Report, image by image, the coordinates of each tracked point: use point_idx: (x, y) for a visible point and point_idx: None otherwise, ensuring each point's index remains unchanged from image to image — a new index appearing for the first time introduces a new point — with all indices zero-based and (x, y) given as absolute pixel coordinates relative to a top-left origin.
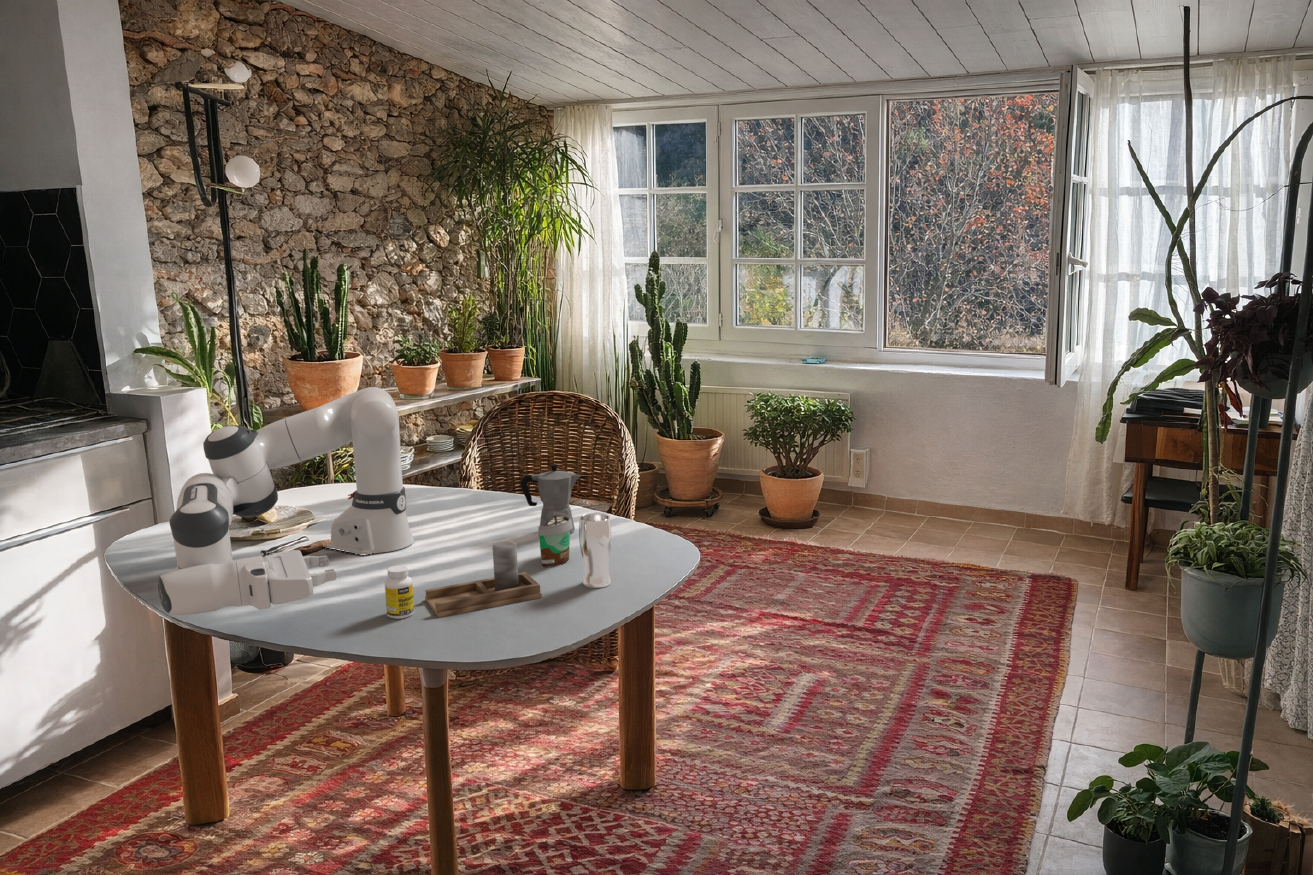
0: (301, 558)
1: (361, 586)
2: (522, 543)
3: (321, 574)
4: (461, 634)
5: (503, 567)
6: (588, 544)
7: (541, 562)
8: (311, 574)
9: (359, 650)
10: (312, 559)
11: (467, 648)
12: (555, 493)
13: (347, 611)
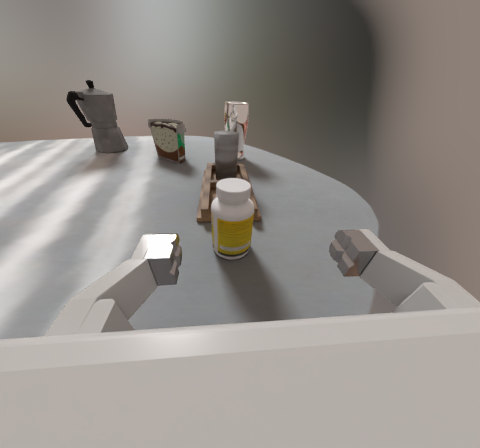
0: (170, 341)
1: (54, 277)
2: (113, 160)
3: (418, 266)
4: (313, 214)
5: (236, 154)
6: (244, 124)
7: (179, 159)
8: (455, 304)
9: (365, 311)
10: (122, 291)
11: (349, 216)
12: (110, 110)
13: (166, 313)
